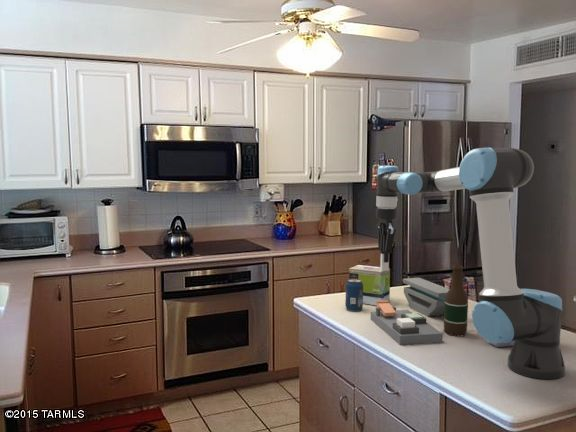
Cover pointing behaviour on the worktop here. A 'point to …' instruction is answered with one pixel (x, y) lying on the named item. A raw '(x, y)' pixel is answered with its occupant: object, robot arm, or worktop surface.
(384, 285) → the tea box
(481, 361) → the worktop surface
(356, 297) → the soda can
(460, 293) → the beer bottle
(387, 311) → the rocker switch
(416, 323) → the control console
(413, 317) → the green button
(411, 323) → the white button
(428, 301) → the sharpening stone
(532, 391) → the worktop surface
